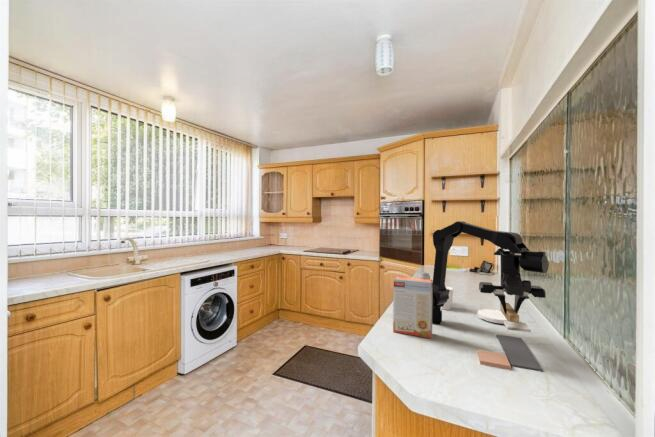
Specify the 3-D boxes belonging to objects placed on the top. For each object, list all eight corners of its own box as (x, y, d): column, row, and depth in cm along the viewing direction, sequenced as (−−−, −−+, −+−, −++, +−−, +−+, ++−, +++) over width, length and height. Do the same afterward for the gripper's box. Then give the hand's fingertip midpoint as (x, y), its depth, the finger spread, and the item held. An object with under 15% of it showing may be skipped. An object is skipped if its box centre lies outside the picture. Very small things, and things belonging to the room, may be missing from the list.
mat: (510, 365, 87) (510, 364, 87) (496, 335, 109) (496, 334, 109) (542, 371, 84) (542, 369, 84) (520, 339, 107) (521, 337, 107)
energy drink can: (419, 298, 157) (419, 271, 157) (430, 300, 154) (431, 272, 154) (416, 301, 152) (417, 273, 152) (428, 303, 149) (429, 274, 149)
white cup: (445, 311, 137) (445, 290, 137) (432, 306, 144) (432, 286, 144) (456, 309, 140) (456, 288, 140) (443, 304, 147) (443, 285, 147)
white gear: (478, 312, 137) (478, 307, 137) (513, 318, 130) (513, 312, 130) (476, 321, 125) (476, 315, 125) (515, 328, 118) (515, 322, 118)
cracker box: (432, 333, 111) (433, 279, 111) (430, 339, 105) (431, 282, 105) (395, 326, 117) (396, 275, 117) (392, 332, 111) (393, 278, 111)
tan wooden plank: (507, 329, 89) (507, 319, 89) (495, 309, 109) (495, 301, 109) (530, 332, 87) (530, 322, 87) (513, 311, 107) (513, 303, 107)
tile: (477, 354, 95) (480, 365, 88) (477, 349, 95) (480, 360, 88) (505, 359, 92) (510, 371, 85) (505, 354, 92) (510, 366, 85)
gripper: (482, 271, 95) (483, 318, 95) (551, 274, 88) (551, 326, 88) (478, 266, 105) (478, 309, 105) (539, 269, 98) (540, 315, 98)
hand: (510, 314), depth 99 cm, fingers closed on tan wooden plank, 3 cm apart
